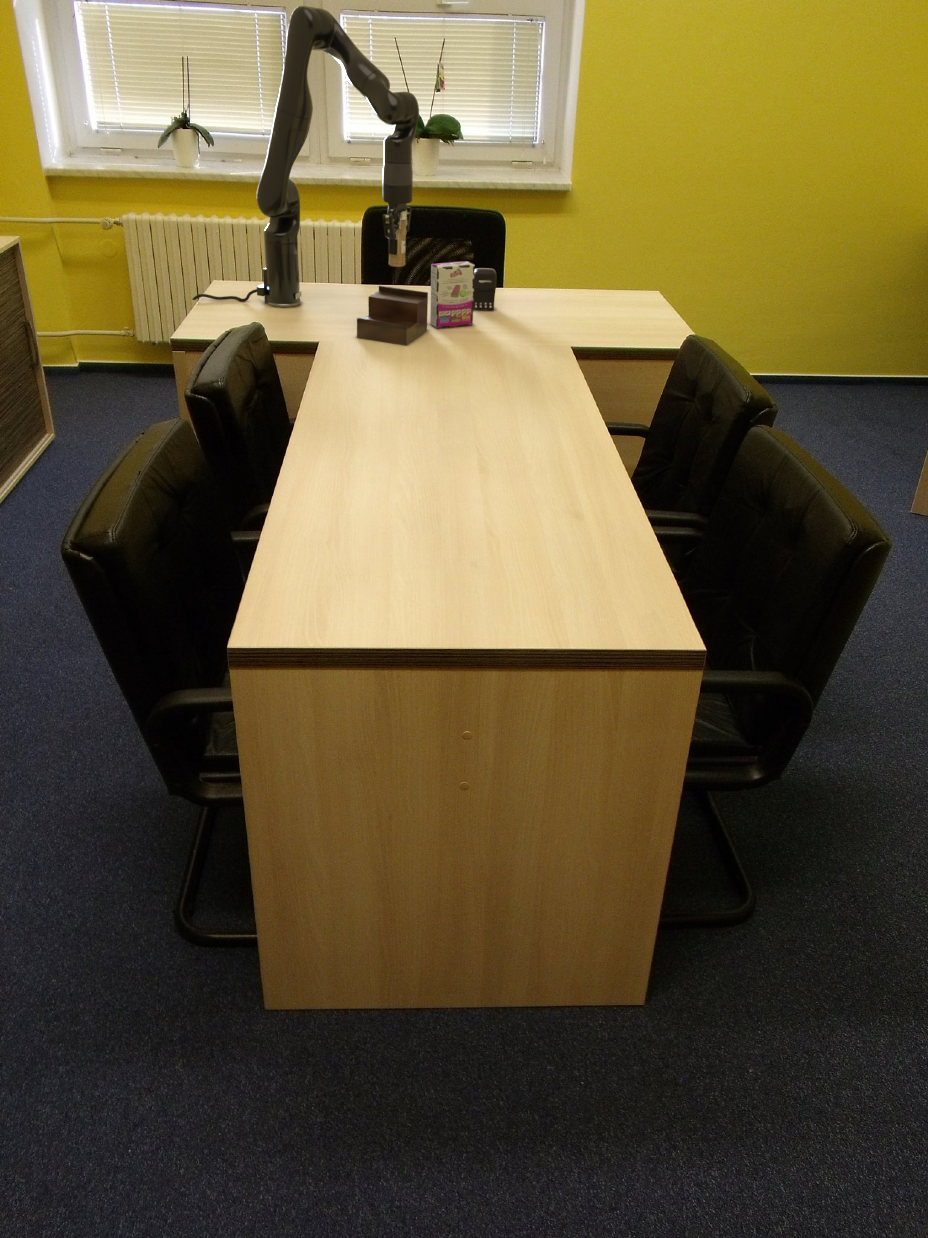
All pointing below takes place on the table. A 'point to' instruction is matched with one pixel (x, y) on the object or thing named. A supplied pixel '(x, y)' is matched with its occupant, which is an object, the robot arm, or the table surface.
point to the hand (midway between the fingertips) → (396, 251)
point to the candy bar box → (452, 294)
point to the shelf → (394, 316)
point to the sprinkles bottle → (399, 246)
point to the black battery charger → (484, 289)
